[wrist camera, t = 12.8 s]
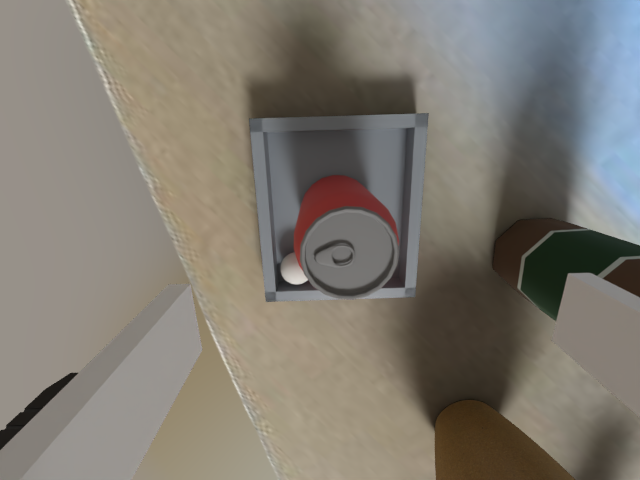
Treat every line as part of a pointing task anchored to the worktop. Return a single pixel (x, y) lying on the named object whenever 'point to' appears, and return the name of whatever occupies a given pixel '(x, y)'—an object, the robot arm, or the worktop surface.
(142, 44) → the worktop surface
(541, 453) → the plant pot
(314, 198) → the beer can
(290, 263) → the ball
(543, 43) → the worktop surface
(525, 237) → the beer bottle
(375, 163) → the tray
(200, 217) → the worktop surface
